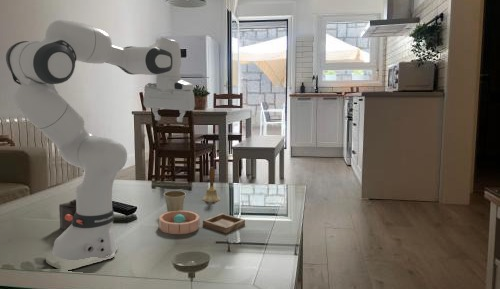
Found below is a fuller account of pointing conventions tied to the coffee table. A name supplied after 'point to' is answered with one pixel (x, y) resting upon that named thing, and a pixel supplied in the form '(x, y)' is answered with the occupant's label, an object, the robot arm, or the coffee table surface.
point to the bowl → (179, 228)
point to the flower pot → (174, 200)
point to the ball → (179, 219)
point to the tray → (223, 222)
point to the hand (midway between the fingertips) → (168, 121)
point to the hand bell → (211, 189)
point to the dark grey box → (64, 210)
